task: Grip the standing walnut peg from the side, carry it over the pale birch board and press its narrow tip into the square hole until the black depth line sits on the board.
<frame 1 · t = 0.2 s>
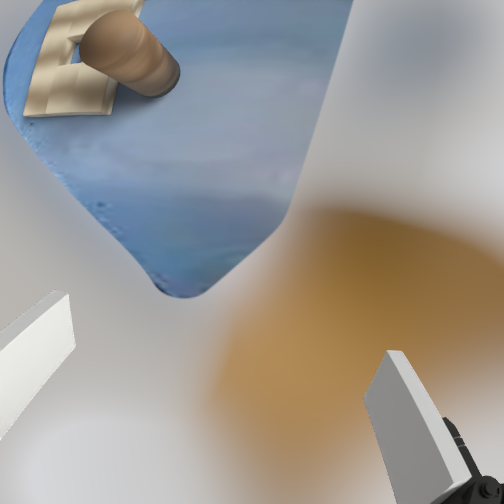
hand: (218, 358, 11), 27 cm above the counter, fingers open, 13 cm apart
birch board: (83, 54, 31), on the counter
walnut peg: (163, 81, 33), on the counter
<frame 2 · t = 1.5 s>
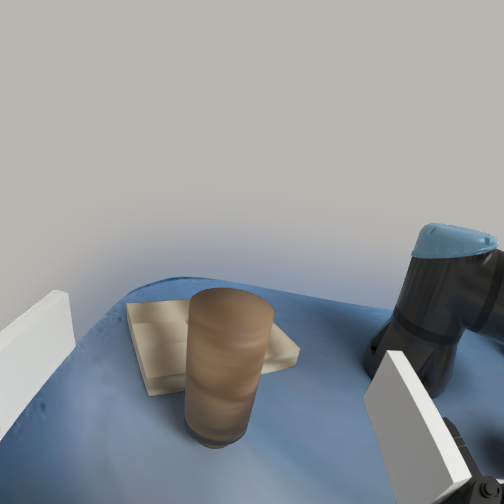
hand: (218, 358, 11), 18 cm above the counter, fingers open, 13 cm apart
birch board: (205, 344, 40), on the counter
walnut peg: (214, 435, 25), on the counter
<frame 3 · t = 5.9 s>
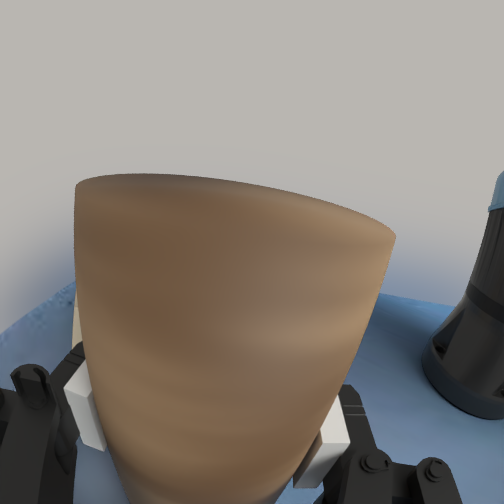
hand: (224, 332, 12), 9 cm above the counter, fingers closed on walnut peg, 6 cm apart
birch board: (189, 346, 25), on the counter
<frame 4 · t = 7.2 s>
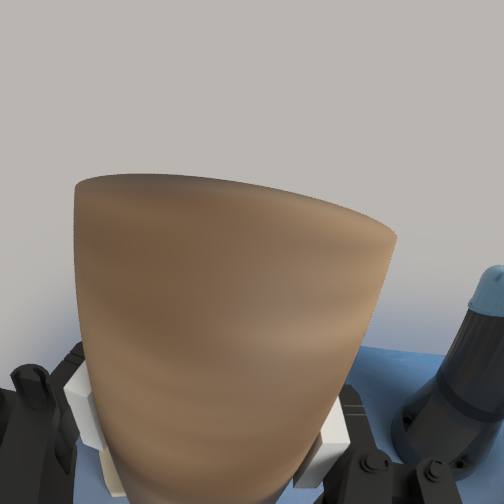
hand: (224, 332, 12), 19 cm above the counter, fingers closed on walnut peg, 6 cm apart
birch board: (189, 420, 27), on the counter
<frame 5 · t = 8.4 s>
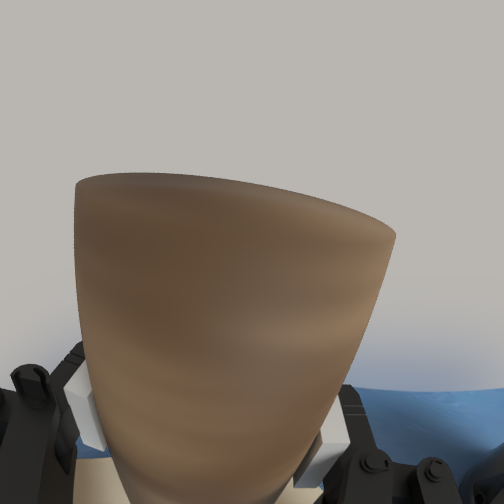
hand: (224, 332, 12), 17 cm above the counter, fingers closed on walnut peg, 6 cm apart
when the fingers open (9 cm above the counter, at t = 11.0 s): walnut peg stays where it is, resting on birch board.
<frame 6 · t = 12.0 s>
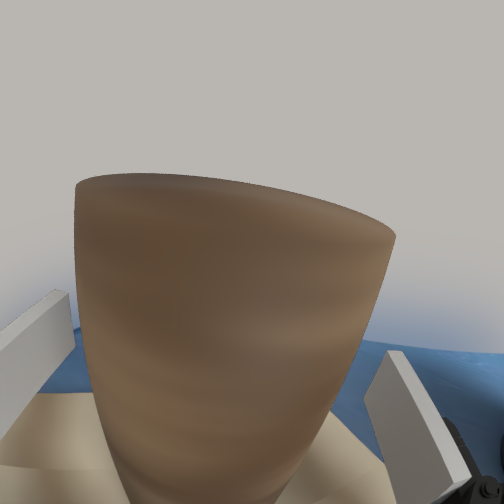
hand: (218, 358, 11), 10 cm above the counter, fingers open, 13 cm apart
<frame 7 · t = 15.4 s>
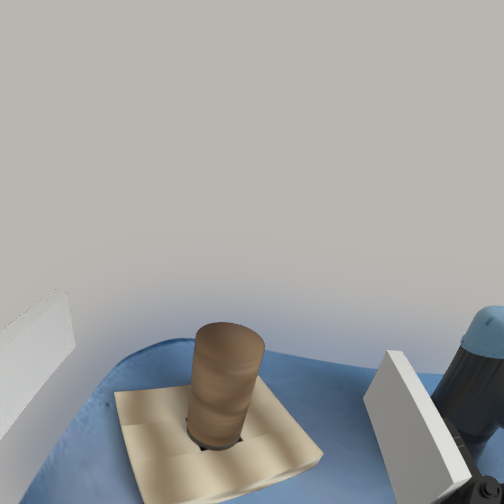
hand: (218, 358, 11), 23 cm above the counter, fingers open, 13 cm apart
birch board: (211, 443, 29), on the counter
walnut peg: (211, 441, 29), resting on birch board
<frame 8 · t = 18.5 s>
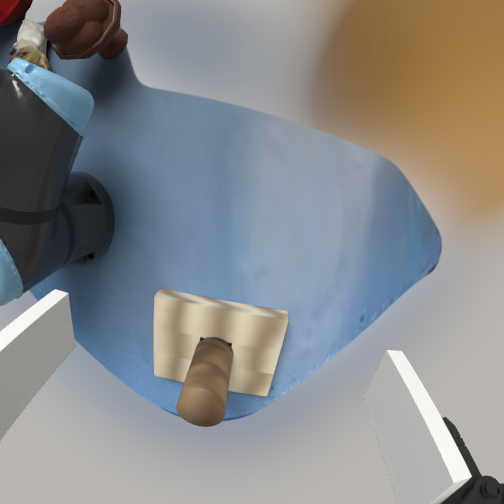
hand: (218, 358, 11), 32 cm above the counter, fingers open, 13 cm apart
birch board: (216, 342, 48), on the counter
ice cream bowl: (113, 43, 34), on the counter
walnut peg: (216, 343, 47), resting on birch board
bottle: (19, 8, 29), on the counter
ceramic sculpture: (40, 62, 34), on the counter
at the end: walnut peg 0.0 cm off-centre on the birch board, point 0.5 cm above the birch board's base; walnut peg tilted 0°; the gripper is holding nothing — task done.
